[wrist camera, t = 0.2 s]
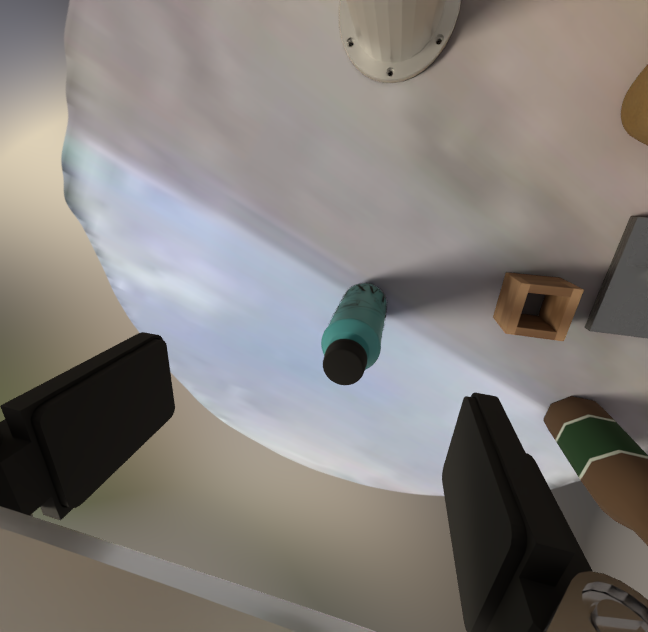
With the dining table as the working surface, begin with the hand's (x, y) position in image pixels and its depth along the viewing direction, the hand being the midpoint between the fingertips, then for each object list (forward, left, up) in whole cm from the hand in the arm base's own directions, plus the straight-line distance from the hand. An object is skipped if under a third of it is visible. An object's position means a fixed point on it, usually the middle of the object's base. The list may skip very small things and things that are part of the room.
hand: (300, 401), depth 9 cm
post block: (+2, +35, -36) cm, 51 cm away
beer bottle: (+23, +31, -37) cm, 53 cm away
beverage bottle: (+9, -1, -37) cm, 38 cm away
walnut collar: (+6, +20, -36) cm, 42 cm away
